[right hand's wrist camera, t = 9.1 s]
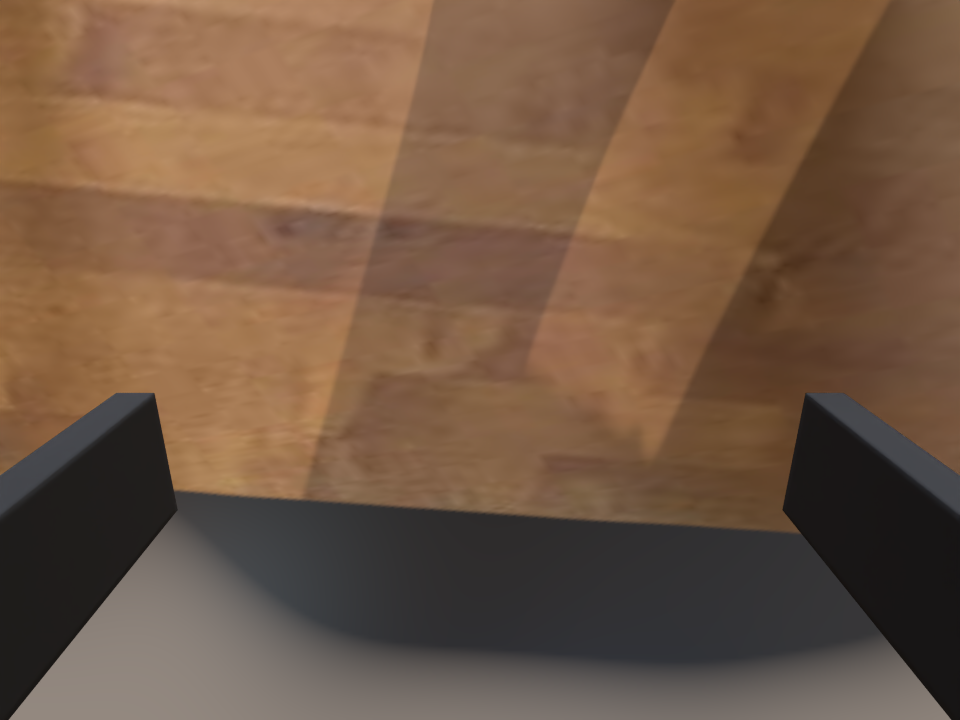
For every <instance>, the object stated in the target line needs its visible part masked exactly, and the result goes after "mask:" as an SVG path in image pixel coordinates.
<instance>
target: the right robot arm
mask: <svg viewBox="0 0 960 720" xmlns="http://www.w3.org/2000/svg"><path fill="white" fill-rule="evenodd" d="M176 511H177V505H176V500H175V495H174V490H173V485H172V480H171V475H170V470H169V465H168V459H167V454H166V449H165V444H164V439H163V434H162V429H161V424H160V419H159V414H158V409H157V404H156V399H155V394H154V393H116V394H114V395H113V396H111V397H110V398H109V399H107V400H106V401H104V402H103V403H102V404H100V405H99V406H97V407H96V408H95V409H93V410H92V411H90V412H89V413H88V414H86V415H85V416H83V417H82V418H81V419H79V420H78V421H76V422H75V423H73V424H72V425H71V426H69V427H68V428H66V429H65V430H64V431H62V432H61V433H59V434H58V435H57V436H55V437H54V438H52V439H51V440H50V441H48V442H47V443H45V444H44V445H43V446H41V447H40V448H38V449H37V450H35V451H34V452H33V453H31V454H30V455H28V456H27V457H26V458H24V459H23V460H21V461H20V462H19V463H17V464H16V465H14V466H13V467H12V468H10V469H9V470H7V471H6V472H5V473H3V474H2V475H0V720H9V719H10V717H11V716H12V715H13V714H14V712H15V711H16V710H17V709H18V707H19V706H20V705H21V704H22V702H23V701H24V700H25V699H26V697H27V696H28V695H29V694H30V692H31V691H32V690H33V689H34V687H35V686H36V685H37V684H38V682H39V681H40V680H41V679H42V678H43V676H44V675H45V674H46V673H47V671H48V670H49V669H50V668H51V666H52V665H53V664H54V663H55V661H56V660H57V659H58V658H59V656H60V655H61V654H62V653H63V651H64V650H65V649H66V648H67V646H68V645H69V644H70V643H71V642H72V640H73V639H74V638H75V637H76V635H77V634H78V633H79V632H80V630H81V629H82V628H83V627H84V625H85V624H86V623H87V622H88V620H89V619H90V618H91V617H92V616H93V614H94V613H95V612H96V611H97V609H98V608H99V607H100V606H101V604H102V603H103V602H104V601H105V599H106V598H107V597H108V596H109V594H110V593H111V592H112V591H113V589H114V588H115V587H116V586H117V584H118V583H119V582H120V581H121V580H122V578H123V577H124V576H125V575H126V573H127V572H128V571H129V570H130V568H131V567H132V566H133V565H134V563H135V562H136V561H137V560H138V558H139V557H140V556H141V555H142V553H143V552H144V551H145V550H146V548H147V547H148V546H149V545H150V543H151V542H152V541H153V540H154V539H155V537H156V536H157V535H158V534H159V532H160V531H161V530H162V529H163V527H164V526H165V525H166V524H167V522H168V521H169V520H170V519H171V517H172V516H173V515H174V514H175V512H176ZM783 511H784V512H785V514H786V515H787V516H788V517H789V519H790V520H791V521H792V522H793V524H794V525H795V526H796V527H797V529H798V530H799V531H800V532H801V534H802V535H803V536H804V537H805V539H806V540H807V541H808V542H809V544H810V545H811V546H812V547H813V548H814V550H815V551H816V552H817V553H818V555H819V556H820V557H821V558H822V560H823V561H824V562H825V563H826V565H827V566H828V567H829V568H830V570H831V571H832V572H833V573H834V575H835V576H836V577H837V578H838V580H839V581H840V582H841V583H842V584H843V586H844V587H845V588H846V589H847V591H848V592H849V593H850V594H851V596H852V597H853V598H854V599H855V601H856V602H857V603H858V604H859V606H860V607H861V608H862V609H863V611H864V612H865V613H866V614H867V616H868V617H869V618H870V619H871V620H872V622H873V623H874V624H875V625H876V627H877V628H878V629H879V630H880V632H881V633H882V634H883V635H884V637H885V638H886V639H887V640H888V642H889V643H890V644H891V645H892V647H893V648H894V649H895V650H896V652H897V653H898V654H899V655H900V656H901V658H902V659H903V660H904V661H905V663H906V664H907V665H908V666H909V668H910V669H911V670H912V671H913V673H914V674H915V675H916V676H917V678H918V679H919V680H920V681H921V683H922V684H923V685H924V686H925V688H926V689H927V690H928V691H929V692H930V694H931V695H932V696H933V697H934V699H935V700H936V701H937V702H938V704H939V705H940V706H941V707H942V709H943V710H944V711H945V712H946V714H947V715H948V716H949V717H950V719H951V720H960V475H958V474H957V473H955V472H954V471H953V470H951V469H950V468H948V467H947V466H946V465H944V464H943V463H941V462H940V461H939V460H937V459H936V458H934V457H933V456H932V455H930V454H929V453H927V452H926V451H925V450H923V449H922V448H920V447H919V446H917V445H916V444H915V443H913V442H912V441H910V440H909V439H908V438H906V437H905V436H903V435H902V434H901V433H899V432H898V431H896V430H895V429H894V428H892V427H891V426H889V425H888V424H887V423H885V422H884V421H882V420H881V419H879V418H878V417H877V416H875V415H874V414H872V413H871V412H870V411H868V410H867V409H865V408H864V407H863V406H861V405H860V404H858V403H857V402H856V401H854V400H853V399H851V398H850V397H849V396H847V395H846V394H844V393H806V394H805V399H804V404H803V409H802V414H801V419H800V424H799V429H798V434H797V439H796V444H795V449H794V454H793V459H792V465H791V470H790V475H789V480H788V485H787V490H786V495H785V500H784V505H783Z"/></svg>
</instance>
